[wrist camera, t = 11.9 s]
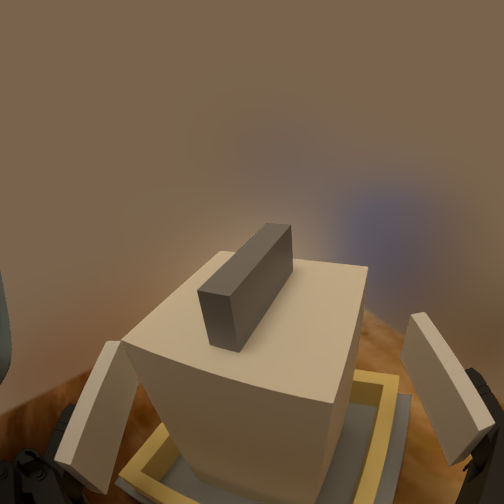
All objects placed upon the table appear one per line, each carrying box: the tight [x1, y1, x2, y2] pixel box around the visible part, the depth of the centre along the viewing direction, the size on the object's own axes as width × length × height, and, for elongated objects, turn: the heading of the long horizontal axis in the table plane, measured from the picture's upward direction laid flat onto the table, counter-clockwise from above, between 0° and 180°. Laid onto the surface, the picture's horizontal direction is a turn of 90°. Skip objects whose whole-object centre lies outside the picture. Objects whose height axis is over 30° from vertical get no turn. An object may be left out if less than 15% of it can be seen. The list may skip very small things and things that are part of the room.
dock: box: [114, 369, 412, 504], centre depth 16 cm, size 16×14×4 cm
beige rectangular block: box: [121, 223, 368, 504], centre depth 13 cm, size 7×7×14 cm
